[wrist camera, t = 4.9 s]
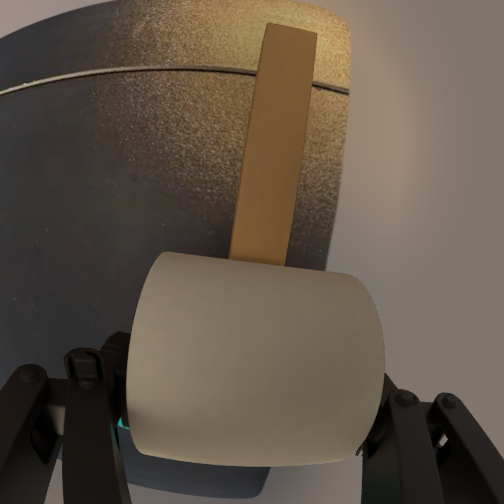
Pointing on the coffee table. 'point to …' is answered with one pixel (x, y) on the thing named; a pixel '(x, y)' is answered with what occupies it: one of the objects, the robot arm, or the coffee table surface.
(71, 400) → the robot arm
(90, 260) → the coffee table surface
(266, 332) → the mallet
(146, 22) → the coffee table surface
